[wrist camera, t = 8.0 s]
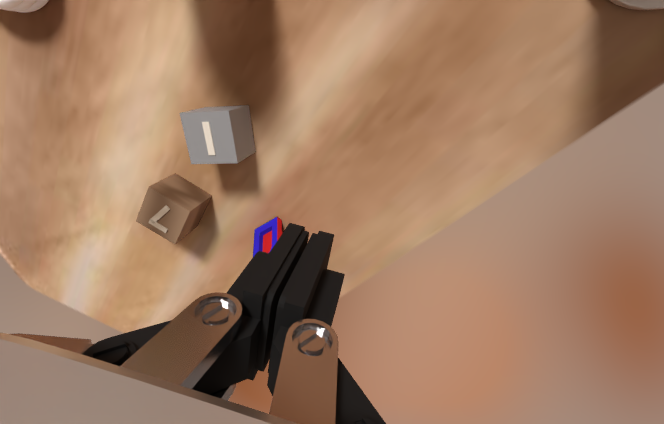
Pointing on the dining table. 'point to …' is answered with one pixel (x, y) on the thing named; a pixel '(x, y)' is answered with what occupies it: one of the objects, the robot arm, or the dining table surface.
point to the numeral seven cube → (173, 207)
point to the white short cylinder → (22, 5)
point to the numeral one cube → (218, 134)
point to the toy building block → (267, 235)
